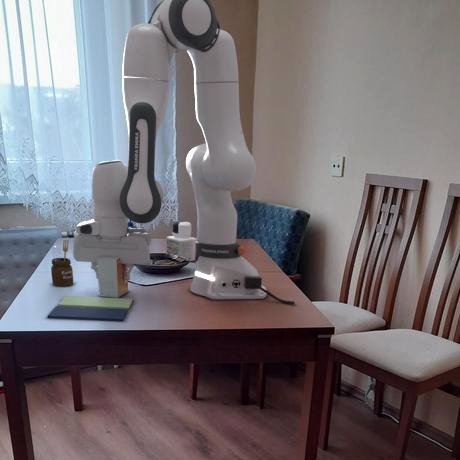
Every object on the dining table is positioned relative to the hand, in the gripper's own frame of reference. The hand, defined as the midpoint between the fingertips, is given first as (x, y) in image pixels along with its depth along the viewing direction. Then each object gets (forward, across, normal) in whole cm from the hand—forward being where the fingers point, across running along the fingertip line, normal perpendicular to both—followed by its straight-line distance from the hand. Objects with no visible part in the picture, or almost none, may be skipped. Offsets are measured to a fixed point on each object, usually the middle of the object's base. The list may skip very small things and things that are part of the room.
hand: (113, 279), depth 152 cm
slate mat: (+4, +3, +19) cm, 20 cm away
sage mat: (+4, +3, +10) cm, 11 cm away
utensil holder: (+4, +16, -8) cm, 18 cm away
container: (+4, -16, -48) cm, 51 cm away
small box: (+4, 0, 0) cm, 4 cm away
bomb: (+4, +3, -54) cm, 54 cm away
